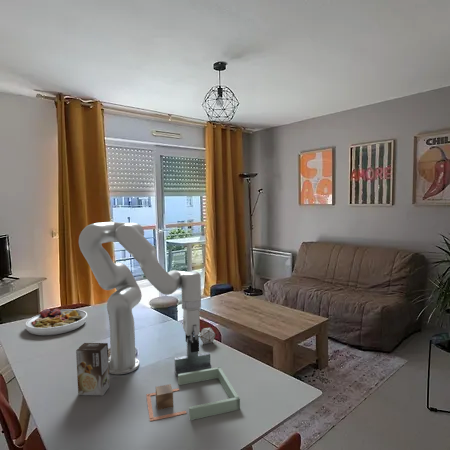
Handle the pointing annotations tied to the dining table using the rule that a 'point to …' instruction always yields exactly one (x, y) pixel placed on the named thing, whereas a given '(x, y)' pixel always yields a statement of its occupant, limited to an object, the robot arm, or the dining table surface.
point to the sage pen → (211, 407)
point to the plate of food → (56, 321)
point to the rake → (192, 361)
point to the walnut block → (164, 397)
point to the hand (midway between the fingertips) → (192, 346)
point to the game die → (207, 335)
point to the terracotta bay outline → (163, 415)
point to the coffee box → (92, 368)
